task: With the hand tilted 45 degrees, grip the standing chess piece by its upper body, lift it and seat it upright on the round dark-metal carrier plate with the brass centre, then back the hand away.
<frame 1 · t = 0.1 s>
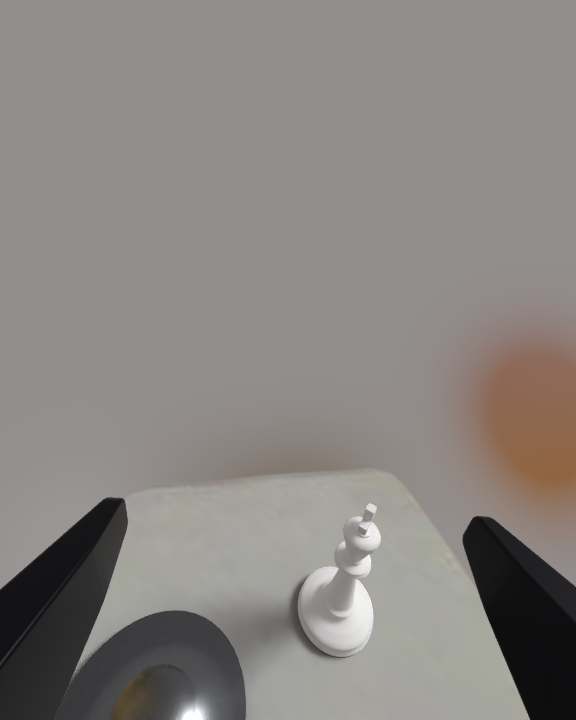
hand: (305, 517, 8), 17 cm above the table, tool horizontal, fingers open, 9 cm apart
chess piece: (333, 611, 22), on the table
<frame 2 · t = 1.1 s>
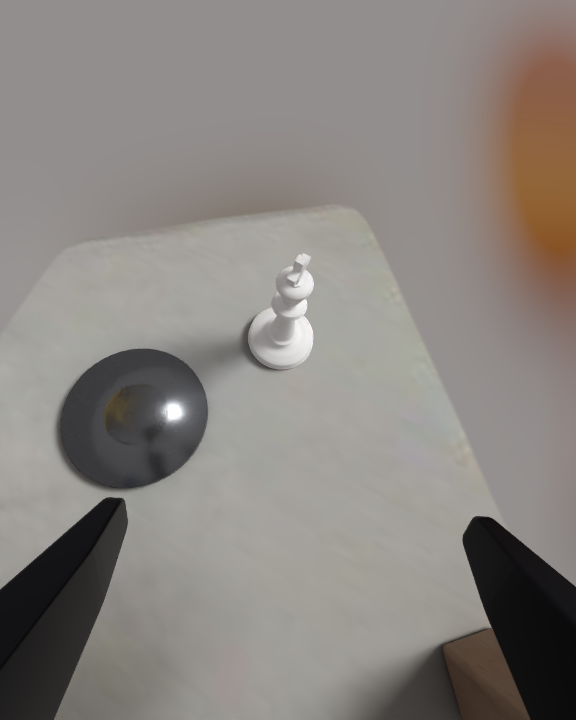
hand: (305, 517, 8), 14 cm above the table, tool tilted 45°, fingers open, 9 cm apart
carrier plate: (139, 415, 22), on the table
chess piece: (280, 339, 25), on the table
wooden block: (476, 669, 20), on the table
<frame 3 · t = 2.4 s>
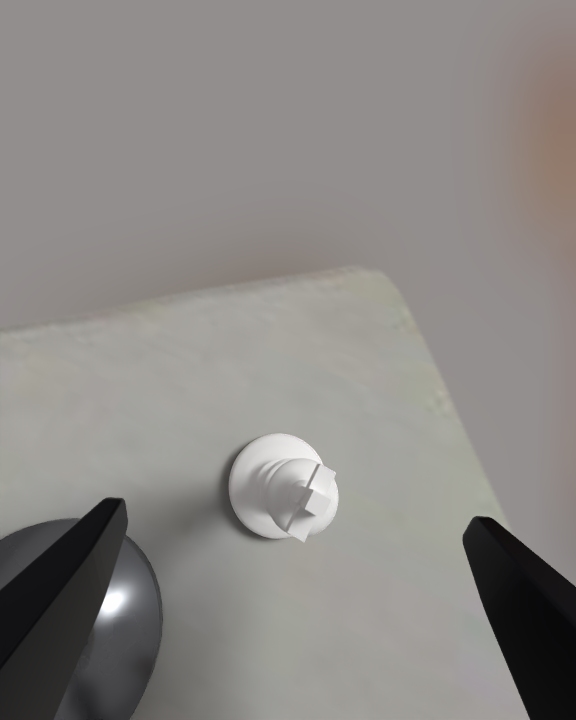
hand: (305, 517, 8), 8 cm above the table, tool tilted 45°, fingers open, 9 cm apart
carrier plate: (49, 637, 14), on the table
chess piece: (277, 483, 17), on the table
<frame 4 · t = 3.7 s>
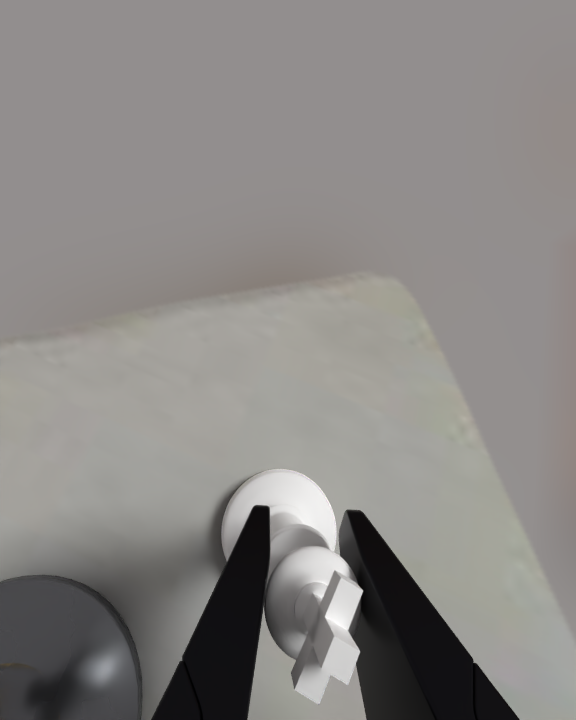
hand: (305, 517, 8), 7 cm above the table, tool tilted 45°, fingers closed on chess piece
chess piece: (278, 527, 14), on the table, touching gripper
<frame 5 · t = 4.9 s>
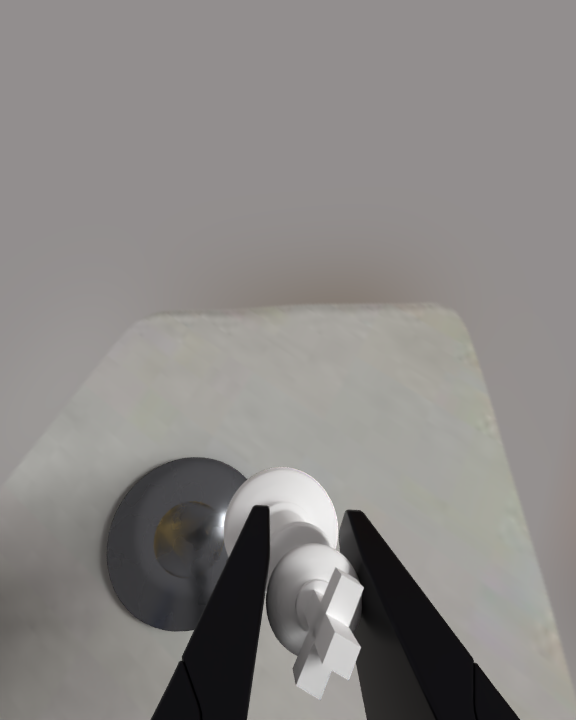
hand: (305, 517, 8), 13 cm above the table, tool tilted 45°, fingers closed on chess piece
carrier plate: (191, 536, 19), on the table
chess piece: (280, 525, 14), point 6 cm above the table, touching gripper
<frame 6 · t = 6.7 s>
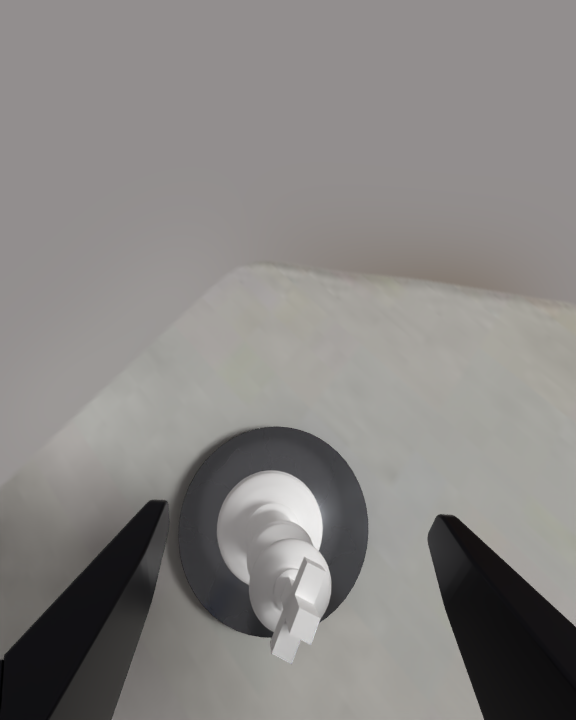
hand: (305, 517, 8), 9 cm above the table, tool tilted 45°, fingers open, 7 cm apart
carrier plate: (275, 520, 16), on the table
chess piece: (269, 524, 16), resting on carrier plate
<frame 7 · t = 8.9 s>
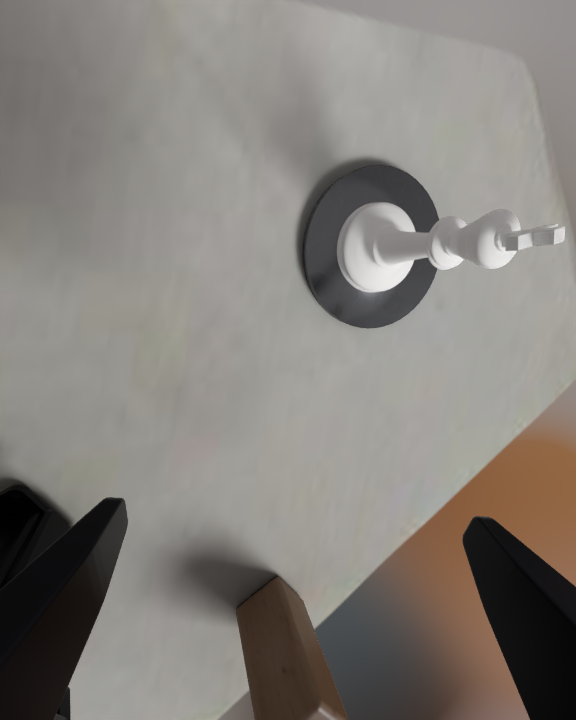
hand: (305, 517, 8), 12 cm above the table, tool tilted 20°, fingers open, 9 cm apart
carrier plate: (372, 252, 20), on the table
chess piece: (372, 249, 19), resting on carrier plate
wooden block: (269, 600, 25), on the table
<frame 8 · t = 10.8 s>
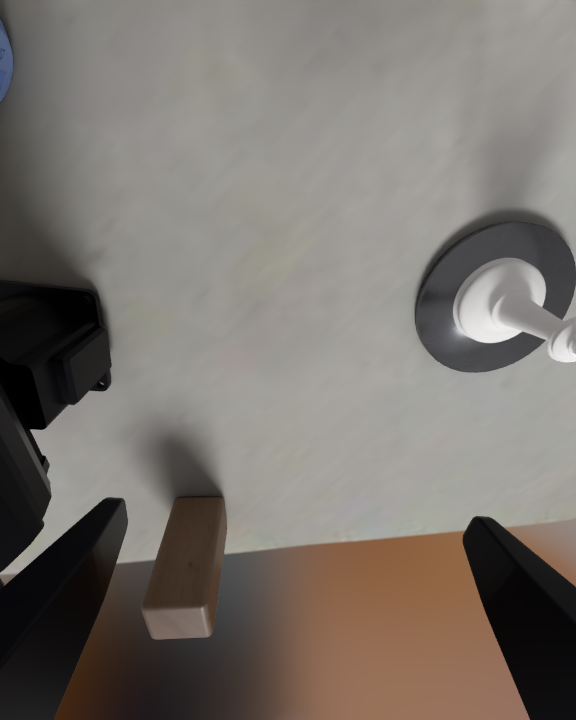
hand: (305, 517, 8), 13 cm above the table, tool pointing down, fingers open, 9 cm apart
carrier plate: (489, 302, 20), on the table
chess piece: (492, 300, 19), resting on carrier plate
wooden block: (202, 509, 27), on the table
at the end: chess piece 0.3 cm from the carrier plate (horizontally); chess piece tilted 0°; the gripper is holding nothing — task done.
